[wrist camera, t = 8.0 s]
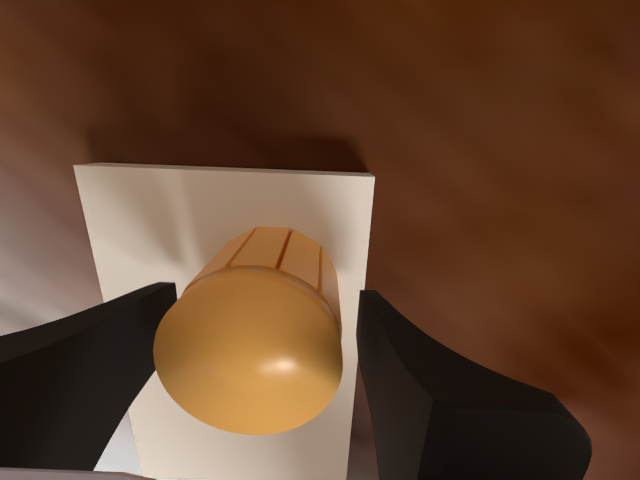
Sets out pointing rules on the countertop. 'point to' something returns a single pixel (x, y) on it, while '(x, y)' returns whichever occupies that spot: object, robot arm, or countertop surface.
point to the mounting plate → (187, 262)
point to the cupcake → (255, 335)
